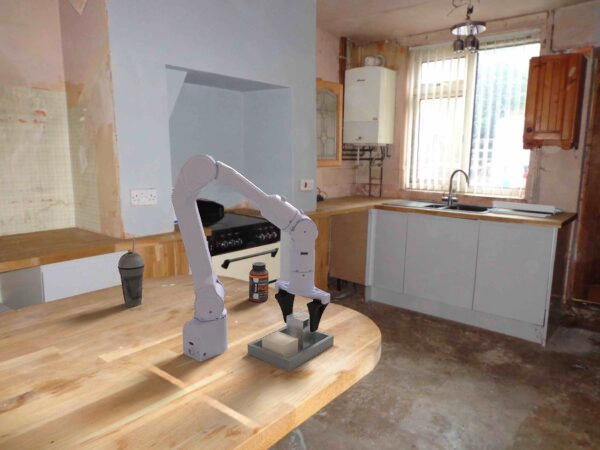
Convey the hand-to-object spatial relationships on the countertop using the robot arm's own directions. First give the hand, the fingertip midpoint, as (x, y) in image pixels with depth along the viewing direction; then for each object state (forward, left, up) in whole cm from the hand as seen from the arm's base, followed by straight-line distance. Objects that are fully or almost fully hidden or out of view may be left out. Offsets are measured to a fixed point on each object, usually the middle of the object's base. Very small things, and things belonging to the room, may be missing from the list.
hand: (300, 326), depth 98 cm
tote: (-3, 0, -5) cm, 6 cm away
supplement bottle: (+17, +30, -6) cm, 35 cm away
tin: (0, 0, -5) cm, 5 cm away
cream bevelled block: (-7, 0, -5) cm, 8 cm away
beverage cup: (-10, +55, -6) cm, 56 cm away
